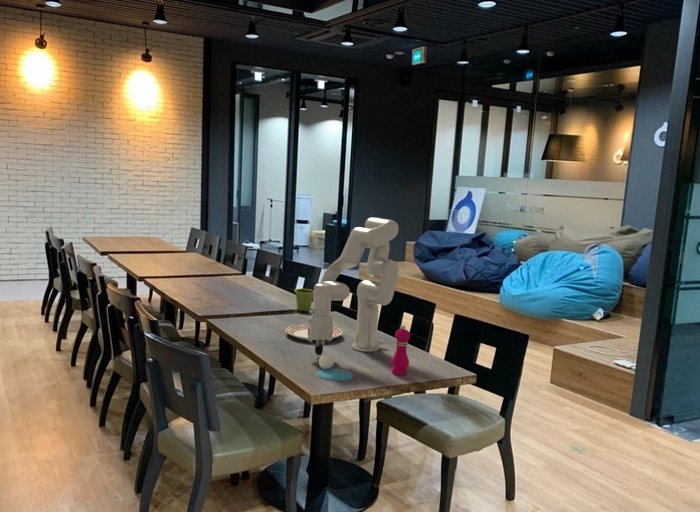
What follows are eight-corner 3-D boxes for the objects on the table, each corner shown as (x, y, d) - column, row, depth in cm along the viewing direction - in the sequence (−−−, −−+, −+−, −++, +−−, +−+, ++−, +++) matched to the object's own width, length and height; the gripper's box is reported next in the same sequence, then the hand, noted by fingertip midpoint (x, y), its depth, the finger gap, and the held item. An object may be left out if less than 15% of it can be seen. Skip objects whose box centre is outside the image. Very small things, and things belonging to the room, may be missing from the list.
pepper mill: (406, 370, 249) (411, 323, 247) (409, 376, 242) (413, 328, 240) (389, 369, 249) (393, 322, 246) (391, 375, 242) (395, 327, 239)
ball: (331, 370, 246) (330, 356, 249) (336, 367, 241) (335, 352, 244) (317, 370, 244) (316, 356, 247) (322, 366, 239) (321, 352, 242)
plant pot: (290, 310, 340) (291, 291, 339) (297, 306, 352) (299, 287, 350) (309, 313, 337) (311, 293, 336) (317, 309, 348) (318, 290, 347)
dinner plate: (274, 337, 286) (274, 330, 286) (304, 326, 310) (305, 319, 310) (324, 348, 274) (324, 341, 273) (352, 336, 298) (352, 329, 297)
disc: (345, 368, 247) (345, 367, 247) (357, 379, 234) (357, 379, 234) (312, 369, 242) (312, 369, 242) (323, 381, 229) (323, 381, 229)
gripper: (306, 314, 250) (304, 357, 252) (341, 314, 255) (337, 356, 257) (302, 310, 257) (299, 352, 259) (335, 310, 262) (332, 351, 264)
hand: (318, 354), depth 258 cm, fingers closed
